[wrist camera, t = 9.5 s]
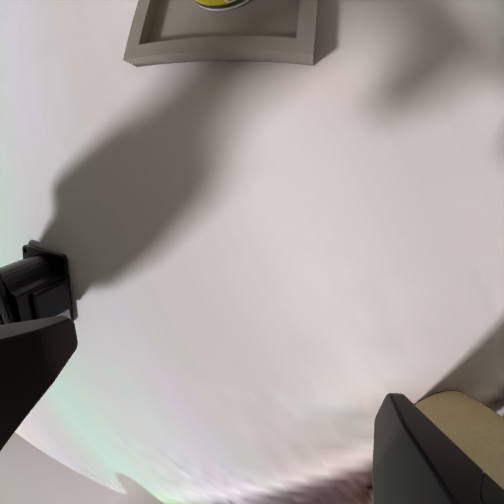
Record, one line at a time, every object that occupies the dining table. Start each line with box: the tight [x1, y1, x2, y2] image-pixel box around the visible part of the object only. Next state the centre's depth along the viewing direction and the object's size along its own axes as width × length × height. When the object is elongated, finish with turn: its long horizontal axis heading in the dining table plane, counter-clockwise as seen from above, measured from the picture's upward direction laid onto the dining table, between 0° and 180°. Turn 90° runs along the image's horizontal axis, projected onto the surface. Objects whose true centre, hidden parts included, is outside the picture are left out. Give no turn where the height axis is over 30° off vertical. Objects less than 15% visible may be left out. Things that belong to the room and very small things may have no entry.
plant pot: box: [415, 391, 504, 489], centre depth 12 cm, size 15×15×16 cm
